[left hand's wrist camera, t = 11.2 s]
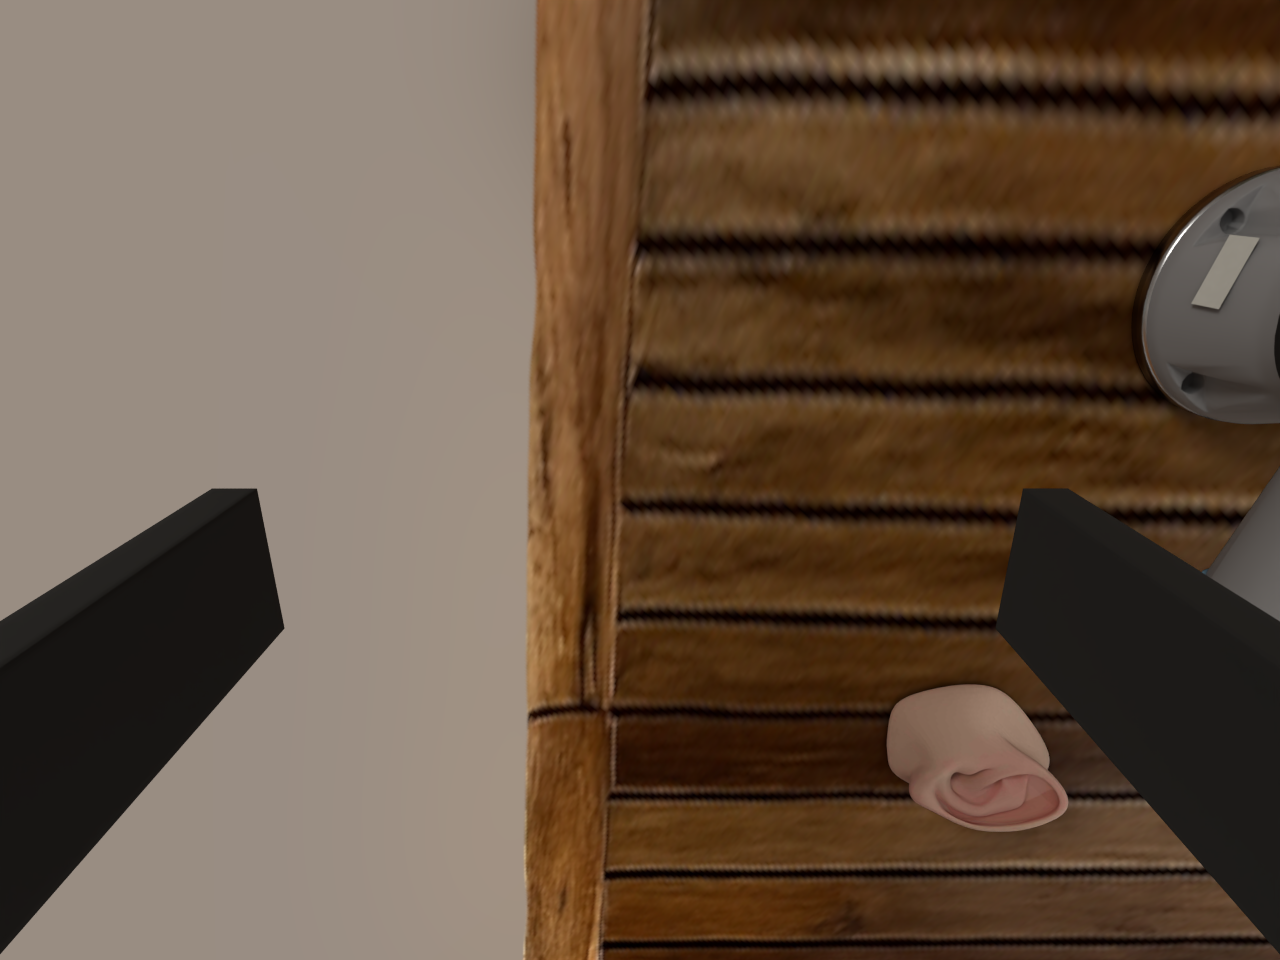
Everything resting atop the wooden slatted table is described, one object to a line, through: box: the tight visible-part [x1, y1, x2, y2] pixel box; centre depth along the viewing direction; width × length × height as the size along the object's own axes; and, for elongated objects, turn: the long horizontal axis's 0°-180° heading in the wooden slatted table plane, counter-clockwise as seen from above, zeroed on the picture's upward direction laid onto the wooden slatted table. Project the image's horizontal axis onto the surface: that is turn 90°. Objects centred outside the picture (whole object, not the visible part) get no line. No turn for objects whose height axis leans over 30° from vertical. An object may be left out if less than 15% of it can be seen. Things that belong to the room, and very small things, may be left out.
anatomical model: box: [887, 684, 1068, 832], centre depth 54 cm, size 13×4×12 cm
